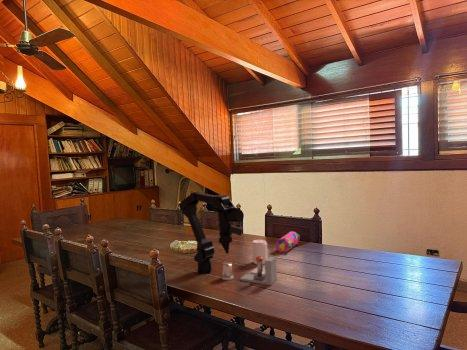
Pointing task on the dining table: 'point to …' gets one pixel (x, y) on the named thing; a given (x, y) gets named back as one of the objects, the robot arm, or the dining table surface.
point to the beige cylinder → (259, 250)
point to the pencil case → (287, 242)
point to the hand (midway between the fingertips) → (227, 253)
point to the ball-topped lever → (259, 269)
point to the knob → (227, 271)
